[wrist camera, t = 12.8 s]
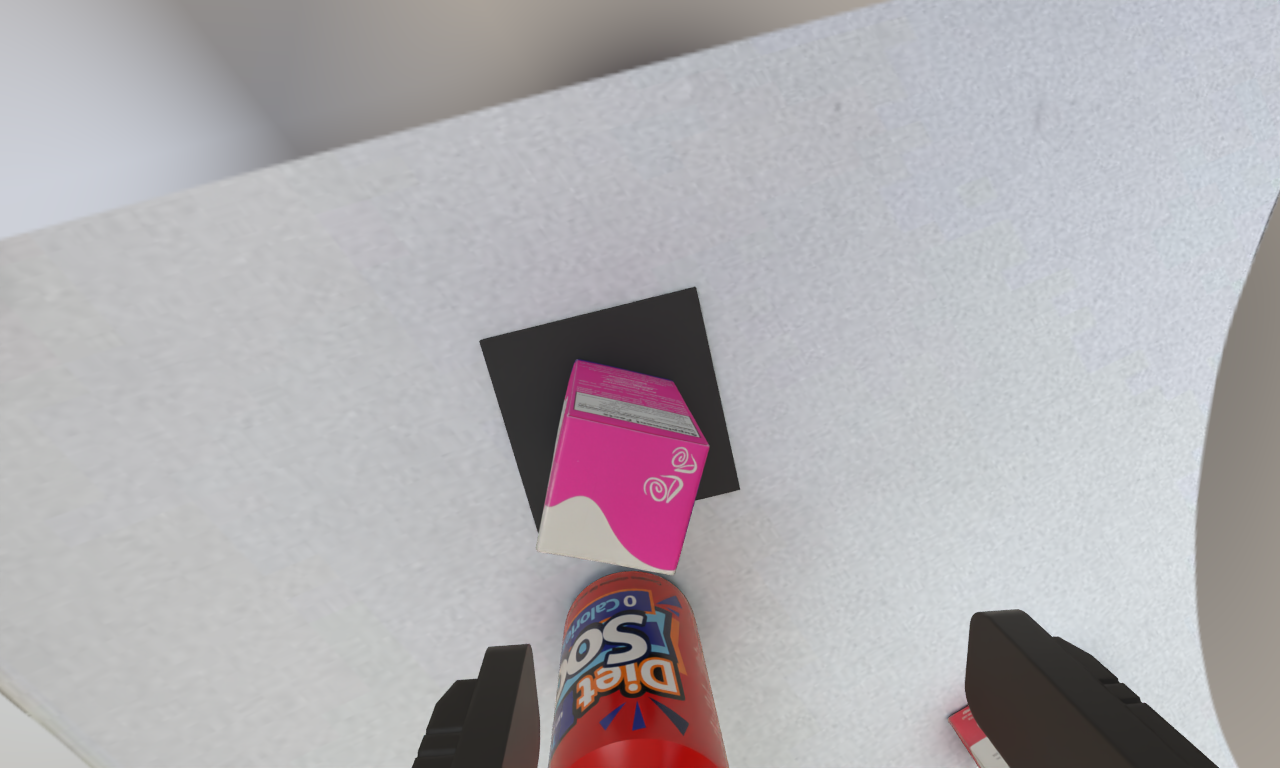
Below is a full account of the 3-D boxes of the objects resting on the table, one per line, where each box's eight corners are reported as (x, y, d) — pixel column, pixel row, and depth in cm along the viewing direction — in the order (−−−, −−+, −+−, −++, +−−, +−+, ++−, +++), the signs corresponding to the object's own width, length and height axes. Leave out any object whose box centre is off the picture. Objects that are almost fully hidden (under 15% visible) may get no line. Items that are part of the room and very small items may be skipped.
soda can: (663, 691, 39) (695, 963, 24) (546, 653, 38) (506, 912, 23) (714, 587, 37) (781, 809, 23) (594, 544, 36) (584, 747, 22)
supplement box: (654, 475, 35) (674, 583, 24) (552, 453, 35) (525, 554, 23) (679, 379, 34) (713, 446, 23) (574, 354, 33) (556, 411, 22)
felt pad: (480, 340, 33) (479, 341, 33) (695, 286, 33) (696, 287, 33) (540, 536, 36) (539, 538, 36) (739, 487, 36) (740, 489, 36)
